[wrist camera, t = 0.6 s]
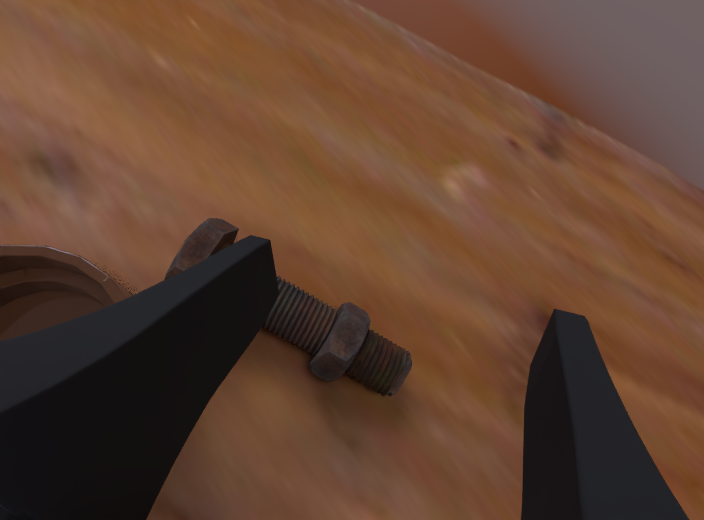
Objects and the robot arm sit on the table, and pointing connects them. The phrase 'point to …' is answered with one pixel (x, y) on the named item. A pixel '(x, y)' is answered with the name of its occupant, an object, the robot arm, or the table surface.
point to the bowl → (49, 288)
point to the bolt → (313, 322)
